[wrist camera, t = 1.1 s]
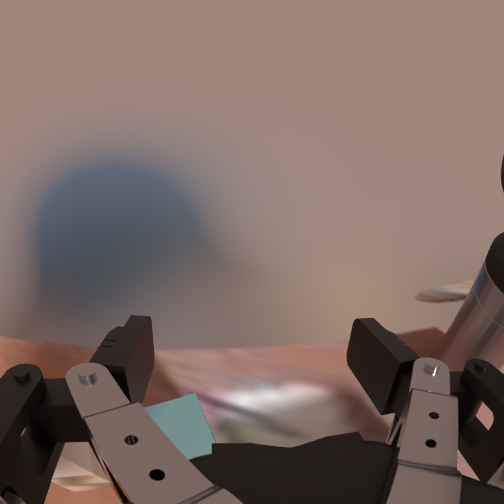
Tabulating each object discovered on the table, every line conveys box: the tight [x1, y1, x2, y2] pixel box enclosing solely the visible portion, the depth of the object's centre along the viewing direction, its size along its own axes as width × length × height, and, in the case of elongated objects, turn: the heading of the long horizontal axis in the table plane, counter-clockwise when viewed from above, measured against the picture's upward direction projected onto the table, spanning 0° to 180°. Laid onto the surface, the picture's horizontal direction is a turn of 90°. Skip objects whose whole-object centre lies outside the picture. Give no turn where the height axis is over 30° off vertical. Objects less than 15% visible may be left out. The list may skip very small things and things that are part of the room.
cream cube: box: [21, 429, 94, 478], centre depth 19 cm, size 6×6×6 cm
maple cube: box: [51, 444, 112, 491], centre depth 22 cm, size 6×6×6 cm
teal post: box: [144, 393, 216, 460], centre depth 23 cm, size 4×4×11 cm
